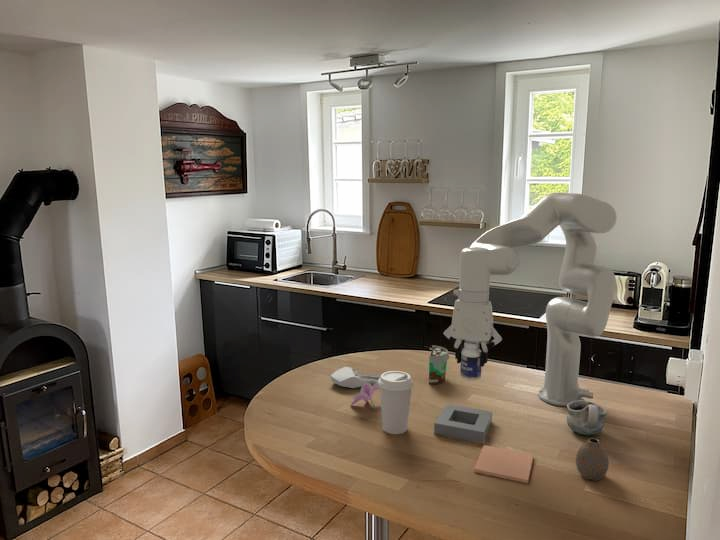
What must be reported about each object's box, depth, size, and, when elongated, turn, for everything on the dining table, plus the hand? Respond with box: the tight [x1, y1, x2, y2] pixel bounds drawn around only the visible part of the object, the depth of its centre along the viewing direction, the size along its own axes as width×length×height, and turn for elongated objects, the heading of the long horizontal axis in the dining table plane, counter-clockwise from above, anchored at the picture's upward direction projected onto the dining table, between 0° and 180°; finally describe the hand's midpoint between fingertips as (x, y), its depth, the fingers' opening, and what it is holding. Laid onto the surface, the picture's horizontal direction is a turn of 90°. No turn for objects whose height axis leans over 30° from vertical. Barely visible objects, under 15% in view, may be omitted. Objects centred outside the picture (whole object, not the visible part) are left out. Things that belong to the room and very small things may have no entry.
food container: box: [428, 345, 450, 386], centre depth 181 cm, size 12×6×10 cm, turn 168°
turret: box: [329, 366, 382, 389], centre depth 179 cm, size 10×20×5 cm, turn 102°
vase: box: [575, 437, 610, 481], centre depth 124 cm, size 7×7×9 cm
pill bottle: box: [459, 340, 482, 382], centre depth 142 cm, size 5×5×10 cm
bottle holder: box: [433, 403, 493, 444], centre depth 148 cm, size 13×13×3 cm
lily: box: [350, 382, 380, 412], centre depth 160 cm, size 11×11×9 cm
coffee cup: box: [377, 370, 415, 435], centre depth 146 cm, size 10×10×15 cm
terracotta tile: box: [473, 444, 534, 484], centre depth 130 cm, size 12×12×1 cm
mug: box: [566, 399, 607, 436], centre depth 144 cm, size 10×12×10 cm
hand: (471, 362), depth 142 cm, fingers closed on pill bottle, 5 cm apart
